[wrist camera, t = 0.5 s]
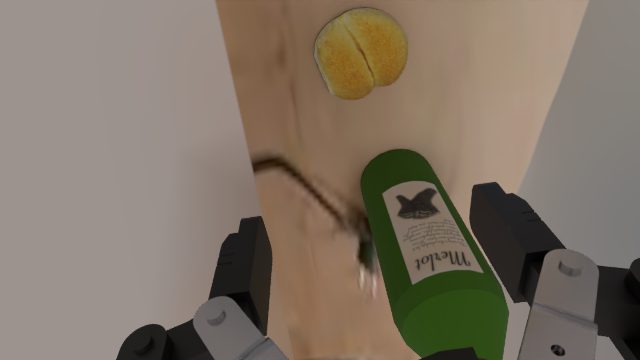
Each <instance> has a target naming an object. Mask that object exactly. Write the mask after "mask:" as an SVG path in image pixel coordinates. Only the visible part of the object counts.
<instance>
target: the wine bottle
mask: <svg viewBox="0 0 640 360" xmlns="http://www.w3.org/2000/svg"><path fill="white" fill-rule="evenodd" d="M361 190H362V195H363V199H364V203H365V207H366V211H367V215H368V219H369V223H370V227H371V231H372V235H373V239H374V243H375V247H376V251H377V255H378V259H379V263H380V267H381V271H382V275H383V279H384V283H385V287H386V291H387V295H388V299H389V303H390V307H391V311H392V315H393V319H394V323H395V325H396V326H397V328H398V330H399V332H400V334H401V336H402V338H403V339H404V341H405V343H406V344H407V345H408V346H409V347H410V348H411V349H412V350H413V351H414V352H415V353H417V354H418V355H419V356H420V357H421V358H424V357H427V356H429V355H431V354H434V353H436V352H439V351H444V350H452V349H459V348H467V347H473V348H474V350H475V353H476V355H477V357H478V358H484V359H488V360H502V359H503V352H504V345H505V338H506V331H507V323H508V317H509V311H508V307H507V303H506V300H505V296H504V293H503V290H502V287H501V285H500V283H499V281H498V280H497V278H496V276H495V275H494V273H493V271H492V270H491V268H490V266H489V264H488V263H487V261H486V259H485V258H484V256H483V254H482V252H481V251H480V249H479V247H478V246H477V244H476V242H475V241H474V239H473V237H472V235H471V234H470V232H469V230H468V229H467V227H466V225H465V224H464V222H463V220H462V218H461V217H460V215H459V213H458V212H457V210H456V208H455V206H454V205H453V203H452V201H451V200H450V198H449V196H448V195H447V193H446V191H445V189H444V188H443V186H442V184H441V183H440V181H439V179H438V178H437V176H436V174H435V172H434V171H433V169H432V167H431V166H430V164H429V163H428V162H427V160H426V159H425V158H424V157H422V156H421V155H419V154H417V153H415V152H412V151H409V150H393V151H388V152H386V153H383V154H381V155H379V156H378V157H376V158H375V159H374V160H372V161H371V162H370V164H369V165H368V166H367V167H366V169H365V171H364V173H363V175H362V180H361Z"/></svg>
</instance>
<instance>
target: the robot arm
mask: <svg viewBox="0 0 640 360" xmlns="http://www.w3.org/2000/svg"><path fill="white" fill-rule="evenodd" d="M469 219H470V226H471V229H472V231H473V233H474V235H475V237H476V239H477V240H478V242H479V244H480V245H481V247H482V249H483V251H484V252H485V254H486V256H487V257H488V259H489V261H490V263H491V264H492V266H493V267H494V269H495V271H496V272H497V274H498V276H499V278H500V279H501V281H502V283H503V285H504V286H505V288H506V290H507V291H508V293H509V295H510V297H511V298H512V300H513V302H514V303H519V302H528V304H529V306H530V307H531V308H530V312H529V316H528V320H527V324H526V328H525V331H524V336H523V340H522V343H521V347H520V351H519V355H518V359H517V360H595V352H596V342H597V335H599V336H606V337H609V338H610V339H611V341H612V342H613V344H614V345H615V347H616V348H617V349H618V351H619V352H620V354H621V355H622V357H623V358H624V359H625V360H640V258H638V259H636V260H634V261H633V262H632V264H631V266H630V268H629V269H625V268H615V267H605V266H598V265H596V264H595V263H594V262H593V261H592V260H591V259H590V258H589V257H587V256H585V255H584V254H582V253H579V252H576V251H573V250H569V249H566V248H565V246H564V245H563V244H562V243H561V242H560V240H559V239H558V238H557V237H556V236H555V235H554V233H553V232H552V231H551V230H550V229H549V228H548V227H547V225H546V224H545V223H544V222H543V221H541V218H540V217H539V216H538V215H537V213H534V210H533V209H532V208H531V206H530V205H529V204H528V203H527V202H526V201H525V200H524V199H522V198H520V197H518V196H517V195H515V194H513V193H510V194H506V193H505V192H504V191H503V189H502V188H501V187H500V186H499V184H498V183H496V182H490V183H484V184H477V185H474V186H473V188H472V197H471V206H470V216H469ZM271 272H272V249H271V245H270V241H269V238H268V235H267V231H266V228H265V225H264V222H263V219H262V217H261V216H257V217H250V218H243V219H241V221H240V226H239V231H238V233H233V234H229V235H228V237H227V238H226V239H225V241H224V242H223V243H222V246H221V250H220V254H219V258H218V262H217V267H216V270H215V274H214V279H213V283H212V287H211V291H210V295H209V299H208V301H207V302H205V303H204V304H202V305H201V307H199V309H198V310H197V312H196V313H195V315H194V318H193V319H191V320H190V321H188V322H186V323H183V324H181V325H179V326H176V327H174V328H172V329H169V330H167V331H166V330H165V329H164V328H163V327H162V326H161V325H157V324H149V325H146V326H143V327H141V328H139V329H137V330H136V331H134V332H133V333H132V334H130V335H129V336H128V337H127V338H126V340H125V341H124V343H123V344H122V346H121V348H120V351H119V354H118V356H117V359H116V360H289V359H288V358H287V357H286V356H285V354H284V353H283V352H282V351H281V350H280V349H279V347H278V346H277V345H276V344H275V343H274V342H273V341H272V340H271V339H270V338H267V339H266V338H265V337H264V336H266V335H267V324H268V311H269V297H270V285H271ZM419 360H488V359H484V358H478V357H477V355H476V353H475V350H474V348H473V347H467V348H459V349H452V350H444V351H439V352H436V353H434V354H431V355H429V356H427V357H424V358H422V359H419Z"/></svg>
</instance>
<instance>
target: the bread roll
mask: <svg viewBox="0 0 640 360" xmlns="http://www.w3.org/2000/svg"><path fill="white" fill-rule="evenodd" d="M407 53H408V42H407V38H406V35H405V32H404V30H403V28H402V27H401V25H400V24H399V23H398V22H397V21H396V20H395V19H394V18H392V17H391V16H390V15H388V14H387V13H385V12H382V11H380V10H377V9H373V8H356V9H352V10H349V11H347V12H345V13H343V14H342V15H340V16H339V17H337V18H336V19H334V20H332V21H331V22H329V23H328V24H327V25H326V26H325V27H324V29H323V30H322V31H321V32H320V34H319V36H318V37H317V39H316V41H315V50H314V58H315V60H316V62H317V65H318V67H319V70H320V72H321V74H322V77H323V79H324V80H325V82H326V83H327V86H328V88H329V91H330V93H331V94H334V95H336V96H338V97H340V98H342V99H345V100H356V99H360V98H363V97H364V96H366V95H367V94H369V93H370V92H371V91H372V89H373V87H374V86H387V85H390V84H392V83H393V82H395V81H396V80H397V79H398V78H399V76H400V75H401V73H402V71H403V70H404V68H405V64H406V61H407Z"/></svg>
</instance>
